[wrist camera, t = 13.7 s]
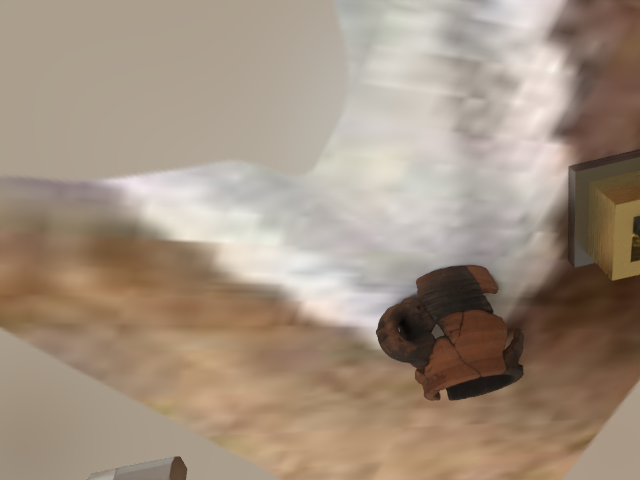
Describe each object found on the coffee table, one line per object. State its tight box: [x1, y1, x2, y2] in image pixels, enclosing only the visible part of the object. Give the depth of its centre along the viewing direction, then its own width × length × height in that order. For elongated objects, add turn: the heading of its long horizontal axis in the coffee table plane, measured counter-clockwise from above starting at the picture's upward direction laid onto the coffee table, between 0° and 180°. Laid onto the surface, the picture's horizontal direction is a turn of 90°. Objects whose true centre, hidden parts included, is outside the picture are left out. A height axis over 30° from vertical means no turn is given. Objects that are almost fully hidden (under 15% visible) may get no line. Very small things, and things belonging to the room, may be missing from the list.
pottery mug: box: [376, 266, 524, 401], centre depth 44 cm, size 12×9×8 cm
